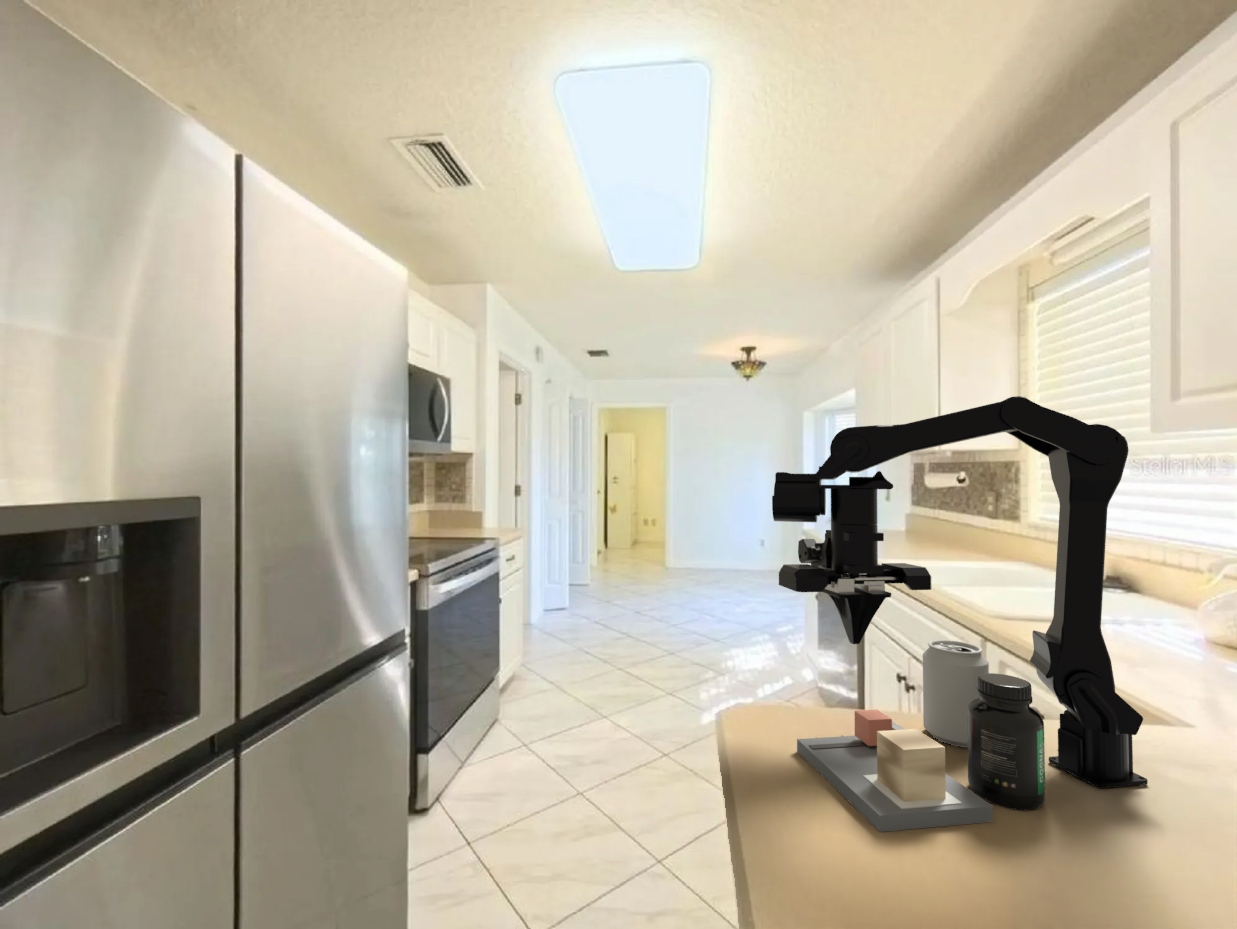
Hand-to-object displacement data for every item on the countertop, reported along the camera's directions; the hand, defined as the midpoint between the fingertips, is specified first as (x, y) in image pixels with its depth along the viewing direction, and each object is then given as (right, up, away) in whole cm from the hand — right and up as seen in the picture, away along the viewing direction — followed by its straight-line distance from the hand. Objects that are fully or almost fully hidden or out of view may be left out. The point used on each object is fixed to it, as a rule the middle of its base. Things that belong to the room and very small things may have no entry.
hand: (854, 643), depth 77 cm
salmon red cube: (0, -10, -6) cm, 11 cm away
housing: (-1, -10, -17) cm, 19 cm away
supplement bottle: (+10, -12, -15) cm, 21 cm away
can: (+13, -12, 0) cm, 18 cm away
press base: (-2, -12, -12) cm, 17 cm away
